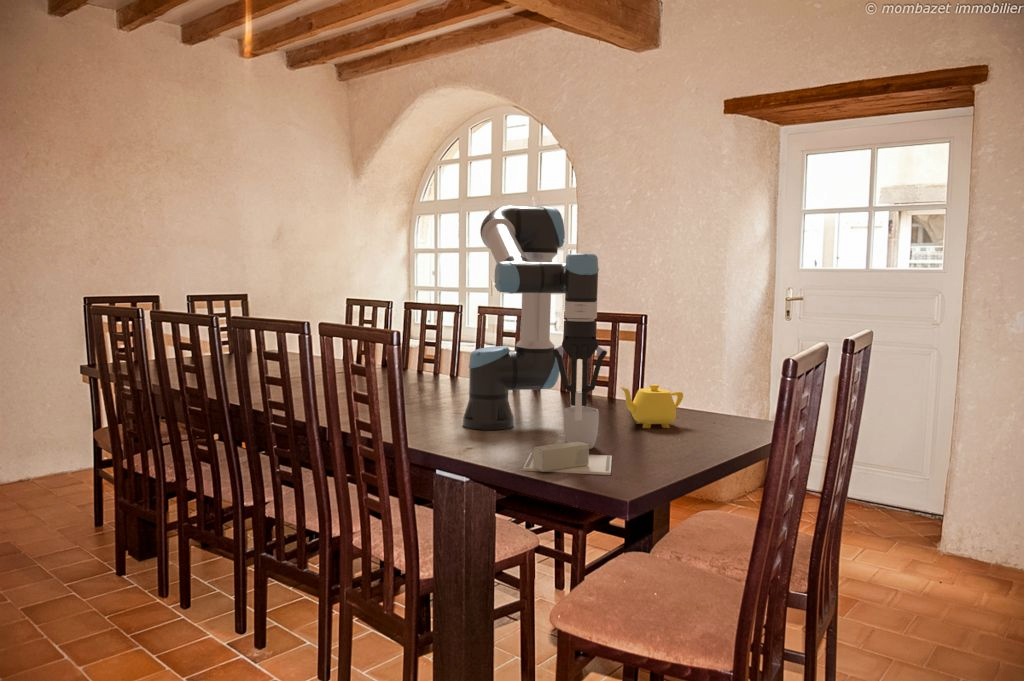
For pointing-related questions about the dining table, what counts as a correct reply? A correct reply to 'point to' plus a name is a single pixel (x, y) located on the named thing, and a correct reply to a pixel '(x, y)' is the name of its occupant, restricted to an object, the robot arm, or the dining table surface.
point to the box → (560, 456)
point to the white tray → (595, 466)
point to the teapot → (653, 406)
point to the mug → (581, 426)
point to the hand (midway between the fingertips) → (578, 419)
